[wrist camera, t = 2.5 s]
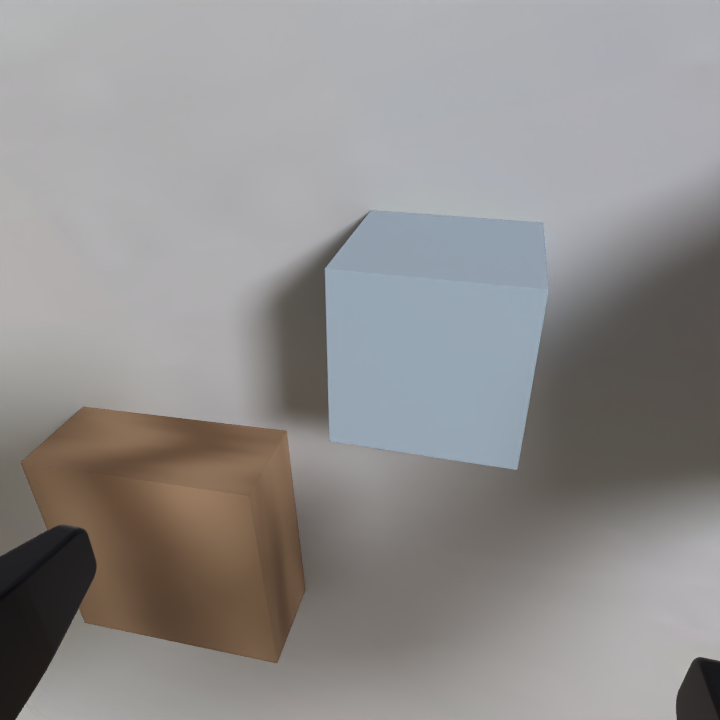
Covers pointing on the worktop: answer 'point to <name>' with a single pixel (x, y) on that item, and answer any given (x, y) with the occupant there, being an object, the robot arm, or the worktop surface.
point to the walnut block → (179, 526)
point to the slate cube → (435, 335)
